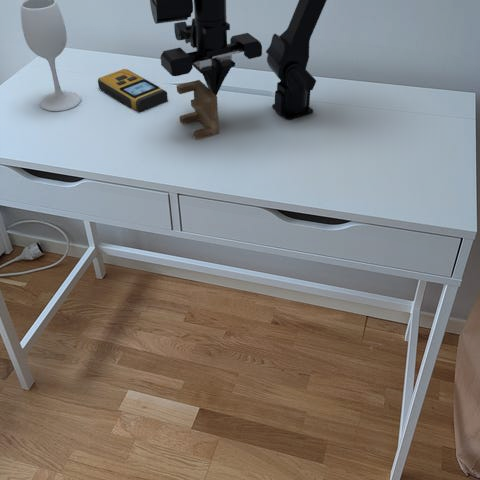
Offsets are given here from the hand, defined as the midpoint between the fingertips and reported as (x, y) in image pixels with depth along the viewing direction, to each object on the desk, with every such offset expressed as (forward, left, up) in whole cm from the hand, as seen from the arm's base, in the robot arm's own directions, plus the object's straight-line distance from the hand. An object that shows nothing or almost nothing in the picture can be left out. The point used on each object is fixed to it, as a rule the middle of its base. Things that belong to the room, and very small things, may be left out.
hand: (213, 95), depth 116 cm
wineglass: (+25, -24, -6) cm, 35 cm away
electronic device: (+10, -20, -7) cm, 23 cm away
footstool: (+3, 0, -6) cm, 7 cm away
